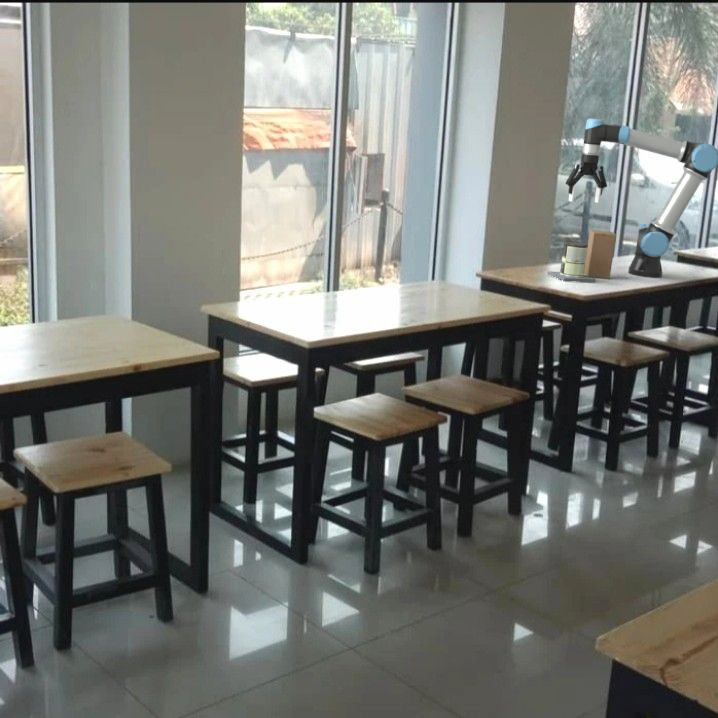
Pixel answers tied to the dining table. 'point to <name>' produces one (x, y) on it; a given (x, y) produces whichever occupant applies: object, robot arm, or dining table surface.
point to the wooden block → (599, 254)
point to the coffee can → (573, 259)
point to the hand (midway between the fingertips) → (584, 202)
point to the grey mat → (566, 278)
